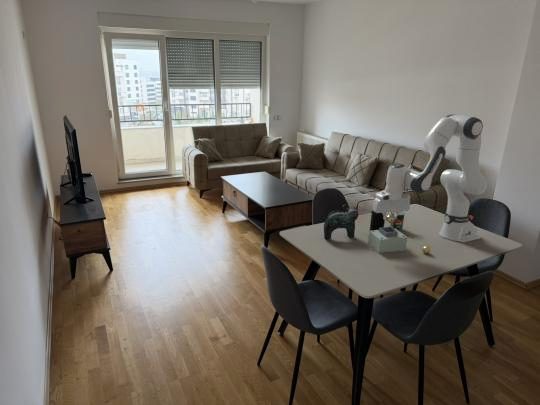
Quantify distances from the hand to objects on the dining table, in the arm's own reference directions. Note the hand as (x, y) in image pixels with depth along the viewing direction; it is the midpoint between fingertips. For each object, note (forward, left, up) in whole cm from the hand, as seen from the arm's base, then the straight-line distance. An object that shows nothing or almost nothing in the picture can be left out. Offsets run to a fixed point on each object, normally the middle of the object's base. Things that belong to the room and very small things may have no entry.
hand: (389, 219), depth 201 cm
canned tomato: (-19, -22, -17) cm, 34 cm away
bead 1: (0, 0, -2) cm, 2 cm away
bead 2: (-17, +11, -17) cm, 26 cm away
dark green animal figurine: (+20, -17, -17) cm, 31 cm away
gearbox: (0, 0, -17) cm, 17 cm away
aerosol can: (0, -12, -17) cm, 21 cm away
